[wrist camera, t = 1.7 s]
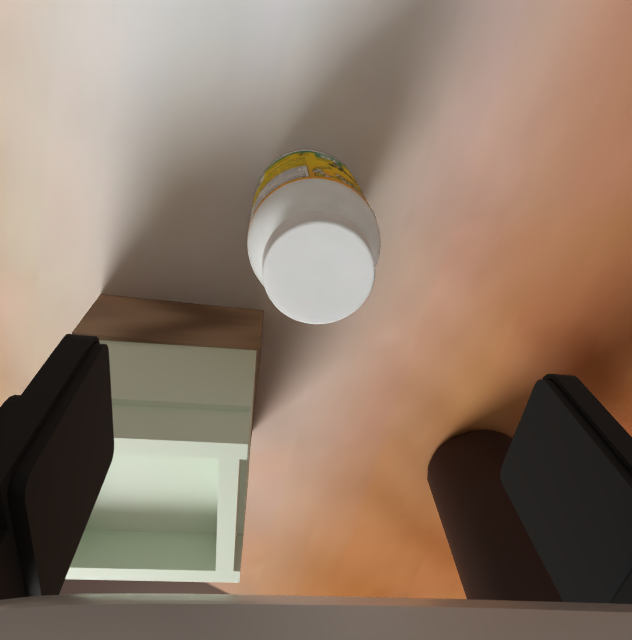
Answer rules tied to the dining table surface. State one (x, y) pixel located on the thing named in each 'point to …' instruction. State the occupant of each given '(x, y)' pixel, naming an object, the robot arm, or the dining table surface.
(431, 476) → the vinegar
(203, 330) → the block lower
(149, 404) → the small green shelf
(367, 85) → the dining table surface
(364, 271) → the supplement bottle
